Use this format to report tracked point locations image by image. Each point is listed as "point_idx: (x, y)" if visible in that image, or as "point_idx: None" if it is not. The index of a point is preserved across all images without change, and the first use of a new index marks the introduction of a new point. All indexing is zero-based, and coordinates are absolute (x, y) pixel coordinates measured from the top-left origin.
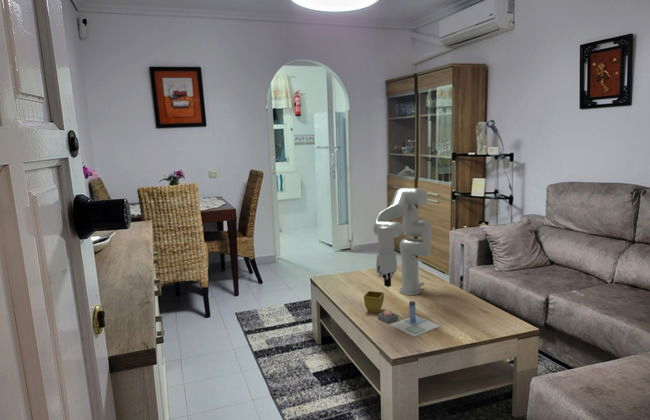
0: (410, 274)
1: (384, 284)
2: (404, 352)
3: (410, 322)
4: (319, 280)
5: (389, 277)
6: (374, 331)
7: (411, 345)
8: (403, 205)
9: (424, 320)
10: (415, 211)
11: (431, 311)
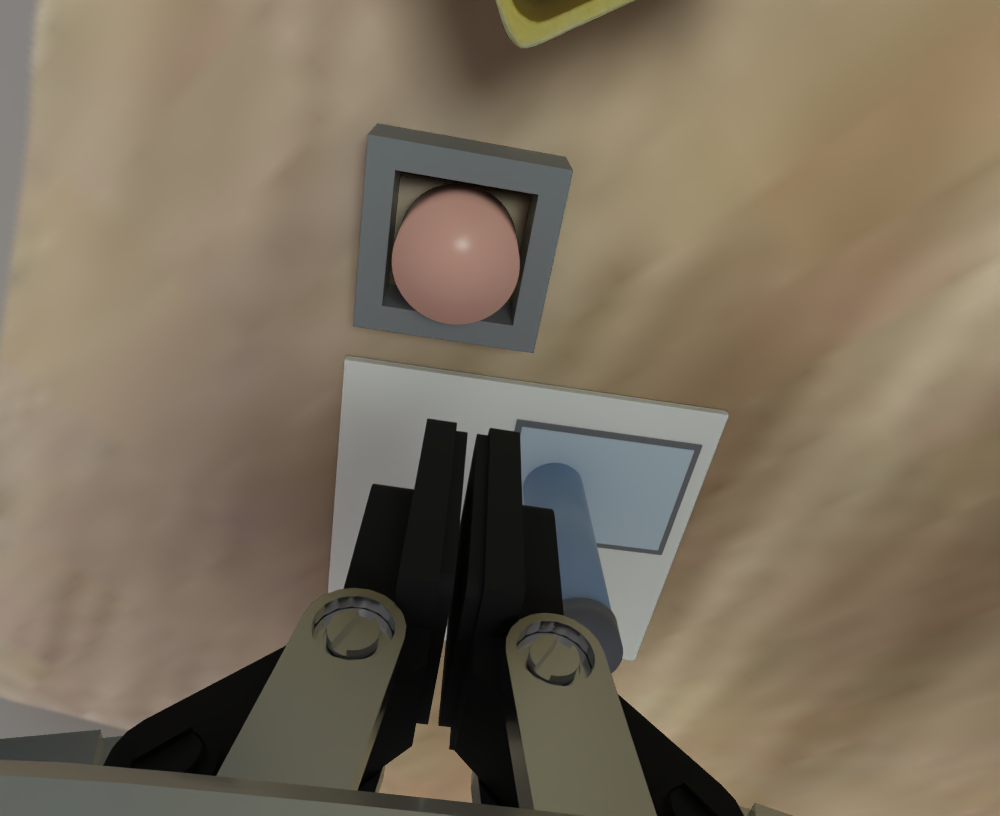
0: None
1: (424, 434)
2: (80, 692)
3: (525, 480)
4: None
5: (478, 753)
6: (98, 324)
7: (199, 672)
8: None
9: (653, 539)
10: None
11: (928, 457)
